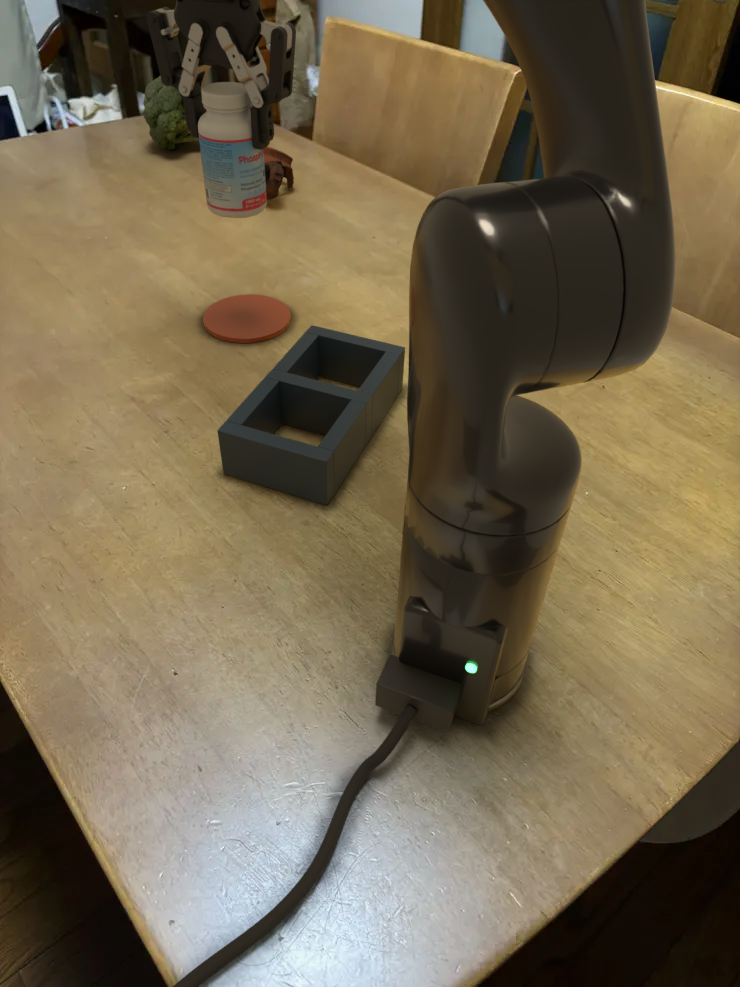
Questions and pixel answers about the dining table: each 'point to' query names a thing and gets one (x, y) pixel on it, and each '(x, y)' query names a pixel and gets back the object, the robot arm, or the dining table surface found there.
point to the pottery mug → (276, 171)
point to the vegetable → (165, 115)
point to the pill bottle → (230, 153)
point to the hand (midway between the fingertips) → (231, 140)
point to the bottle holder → (313, 413)
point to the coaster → (246, 318)
